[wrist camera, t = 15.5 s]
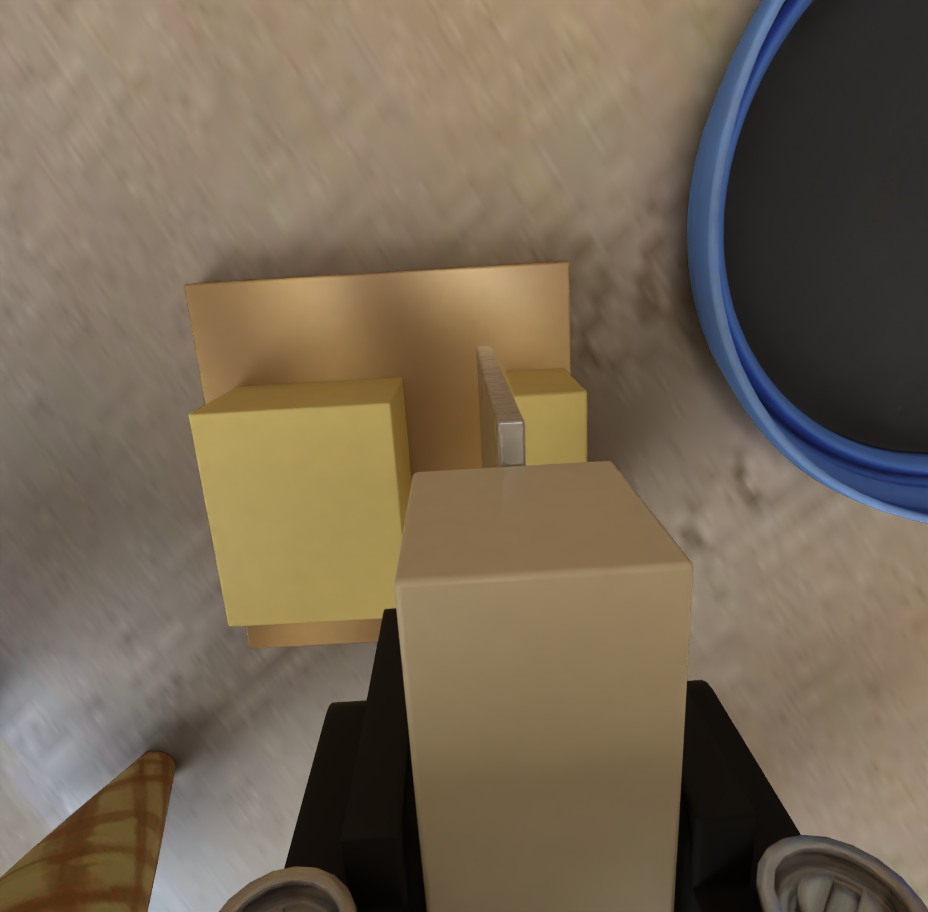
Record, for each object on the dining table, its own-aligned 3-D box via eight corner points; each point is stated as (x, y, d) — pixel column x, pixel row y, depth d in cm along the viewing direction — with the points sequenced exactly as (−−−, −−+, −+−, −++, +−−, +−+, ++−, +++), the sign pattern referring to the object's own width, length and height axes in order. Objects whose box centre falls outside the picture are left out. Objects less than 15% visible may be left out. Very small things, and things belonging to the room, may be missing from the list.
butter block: (265, 568, 21) (228, 627, 17) (234, 386, 19) (186, 413, 16) (418, 560, 21) (410, 617, 17) (402, 376, 19) (390, 402, 16)
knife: (455, 726, 15) (461, 1261, 7) (427, 349, 13) (386, 517, 4) (546, 720, 15) (656, 1248, 7) (539, 342, 13) (700, 498, 4)
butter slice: (511, 554, 21) (521, 611, 17) (504, 370, 19) (514, 394, 16) (566, 551, 21) (587, 608, 17) (564, 367, 19) (587, 390, 16)
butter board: (259, 629, 23) (249, 649, 22) (199, 282, 19) (182, 284, 18) (567, 612, 23) (572, 631, 22) (563, 261, 19) (570, 261, 18)
